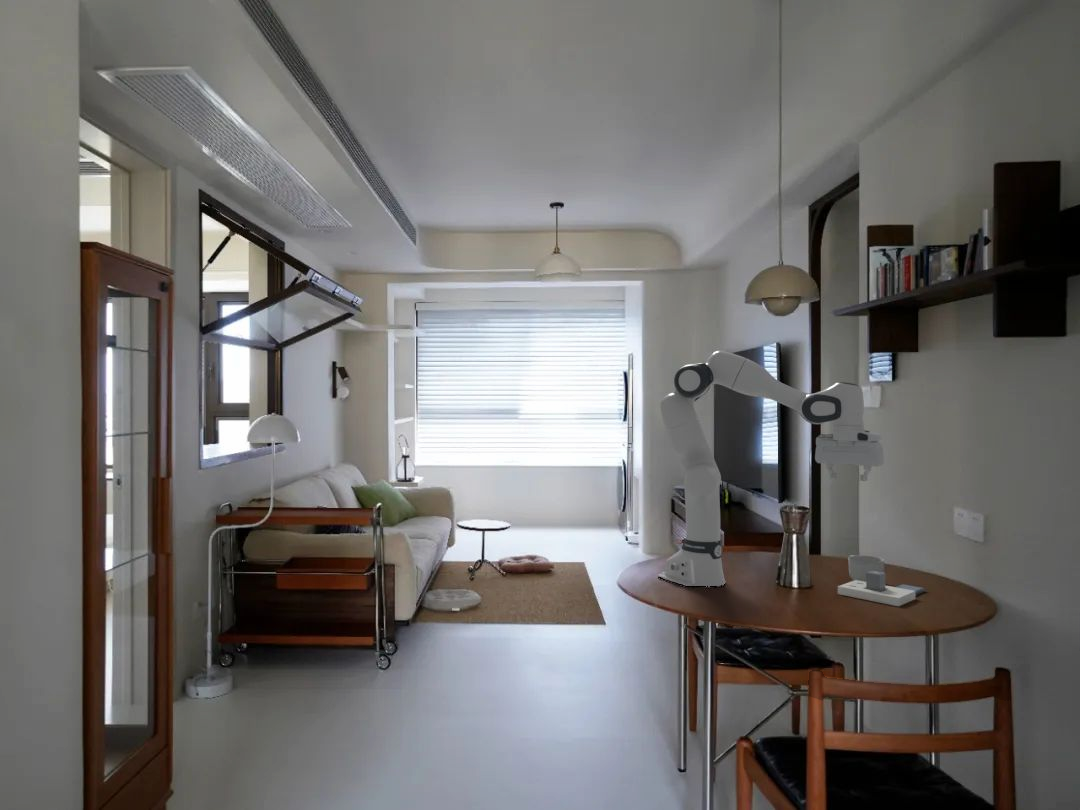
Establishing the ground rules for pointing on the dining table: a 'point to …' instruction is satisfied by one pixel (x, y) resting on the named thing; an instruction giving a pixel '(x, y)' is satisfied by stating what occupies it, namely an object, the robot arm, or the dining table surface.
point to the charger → (875, 581)
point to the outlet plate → (877, 593)
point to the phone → (912, 588)
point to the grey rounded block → (864, 566)
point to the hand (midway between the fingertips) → (848, 479)
